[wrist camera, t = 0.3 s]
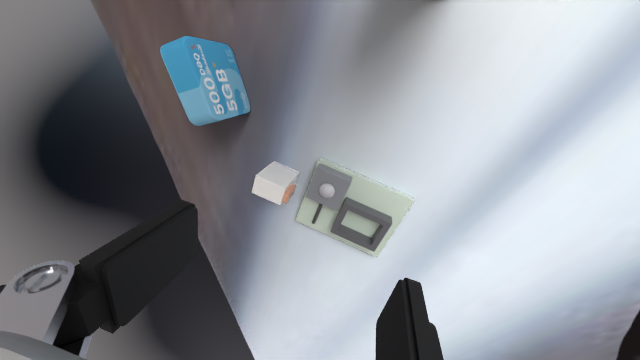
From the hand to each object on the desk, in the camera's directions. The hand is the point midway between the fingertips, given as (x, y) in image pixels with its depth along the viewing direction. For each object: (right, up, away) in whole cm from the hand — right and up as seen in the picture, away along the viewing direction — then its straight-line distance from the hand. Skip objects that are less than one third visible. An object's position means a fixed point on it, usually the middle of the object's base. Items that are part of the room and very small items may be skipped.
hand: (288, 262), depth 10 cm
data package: (-15, +23, +34) cm, 44 cm away
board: (+8, -2, +39) cm, 40 cm away
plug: (-6, +5, +40) cm, 41 cm away
